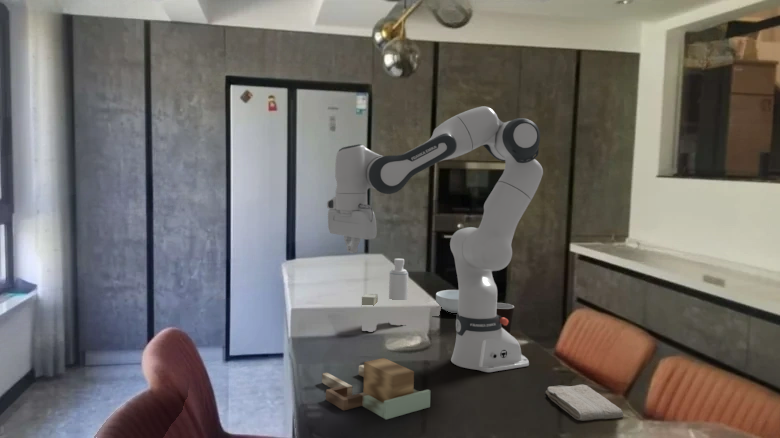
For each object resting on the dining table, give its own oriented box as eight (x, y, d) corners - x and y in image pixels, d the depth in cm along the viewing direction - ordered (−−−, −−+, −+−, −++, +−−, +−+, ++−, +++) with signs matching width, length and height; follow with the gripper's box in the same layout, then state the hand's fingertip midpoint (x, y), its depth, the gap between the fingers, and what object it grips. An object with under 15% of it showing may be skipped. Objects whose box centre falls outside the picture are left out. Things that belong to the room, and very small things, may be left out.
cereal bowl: (433, 315, 238) (433, 297, 237) (437, 306, 254) (437, 288, 254) (478, 318, 235) (479, 299, 234) (479, 308, 251) (480, 291, 251)
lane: (304, 386, 160) (304, 377, 160) (378, 370, 174) (378, 361, 174) (364, 423, 139) (364, 412, 139) (443, 401, 153) (443, 391, 153)
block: (363, 397, 154) (364, 362, 153) (383, 392, 158) (383, 357, 157) (392, 414, 145) (393, 376, 144) (413, 408, 148) (414, 371, 147)
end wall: (383, 418, 142) (383, 400, 142) (427, 405, 150) (427, 389, 149) (386, 419, 141) (386, 402, 141) (430, 407, 149) (430, 390, 149)
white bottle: (390, 326, 221) (391, 256, 218) (387, 321, 227) (388, 253, 225) (408, 326, 222) (410, 256, 219) (405, 321, 228) (407, 253, 226)
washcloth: (583, 392, 162) (584, 380, 162) (625, 420, 145) (626, 407, 145) (541, 395, 160) (542, 383, 159) (579, 424, 142) (580, 410, 142)
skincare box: (373, 333, 212) (374, 297, 211) (360, 332, 213) (361, 296, 212) (377, 328, 218) (378, 293, 217) (365, 327, 219) (365, 293, 218)
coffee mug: (515, 338, 209) (516, 309, 208) (489, 337, 209) (490, 308, 208) (509, 329, 221) (510, 301, 220) (484, 328, 221) (485, 300, 220)
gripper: (382, 204, 168) (382, 255, 170) (342, 201, 185) (343, 247, 186) (362, 205, 165) (363, 257, 166) (323, 202, 181) (324, 249, 182)
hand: (352, 252), depth 176 cm, fingers closed
